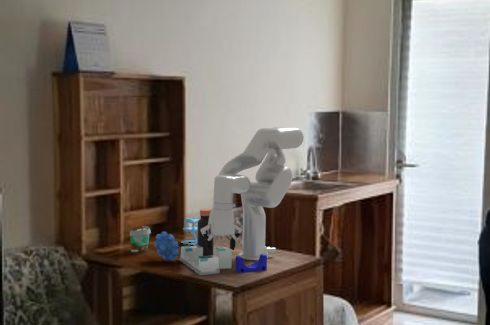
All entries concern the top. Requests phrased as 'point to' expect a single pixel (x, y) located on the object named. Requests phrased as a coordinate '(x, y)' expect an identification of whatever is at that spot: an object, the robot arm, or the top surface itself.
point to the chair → (192, 229)
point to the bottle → (201, 224)
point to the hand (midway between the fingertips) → (220, 249)
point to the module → (223, 256)
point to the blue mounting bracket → (256, 266)
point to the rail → (199, 260)
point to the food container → (140, 240)
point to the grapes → (166, 246)
